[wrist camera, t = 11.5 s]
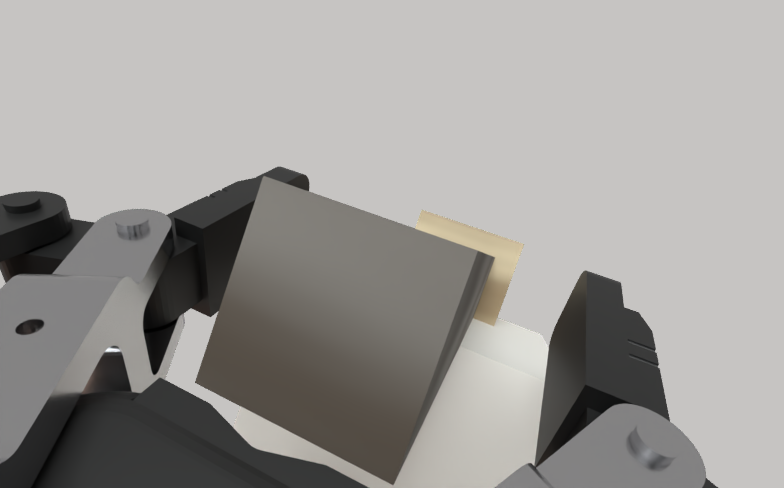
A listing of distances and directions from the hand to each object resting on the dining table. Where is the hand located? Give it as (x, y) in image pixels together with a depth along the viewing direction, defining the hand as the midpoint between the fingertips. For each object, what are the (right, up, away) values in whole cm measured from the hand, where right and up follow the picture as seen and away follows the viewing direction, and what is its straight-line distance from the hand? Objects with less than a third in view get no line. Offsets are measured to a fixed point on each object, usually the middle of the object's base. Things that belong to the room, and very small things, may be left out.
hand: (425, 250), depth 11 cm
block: (0, -3, +3) cm, 4 cm away
